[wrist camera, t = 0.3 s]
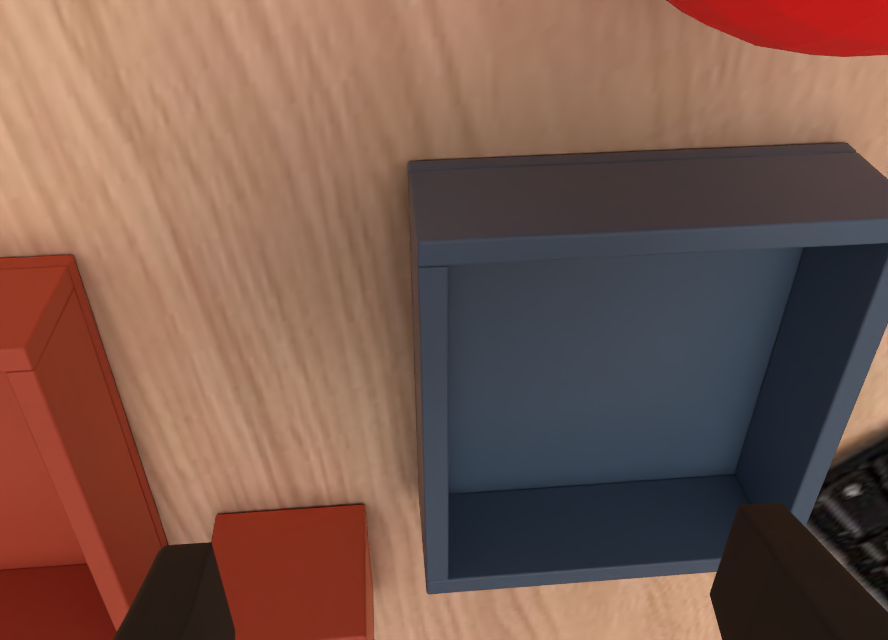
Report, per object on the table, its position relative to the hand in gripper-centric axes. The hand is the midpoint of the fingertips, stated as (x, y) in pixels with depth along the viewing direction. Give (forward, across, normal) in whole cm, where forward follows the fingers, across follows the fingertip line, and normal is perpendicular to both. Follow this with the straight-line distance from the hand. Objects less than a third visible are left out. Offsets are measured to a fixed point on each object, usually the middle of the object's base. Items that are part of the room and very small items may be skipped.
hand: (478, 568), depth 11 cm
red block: (+10, +4, +12) cm, 16 cm away
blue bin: (+10, -5, +4) cm, 12 cm away
